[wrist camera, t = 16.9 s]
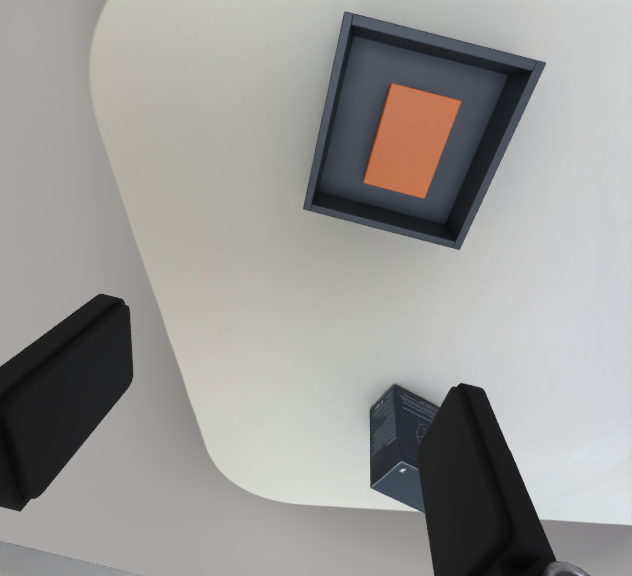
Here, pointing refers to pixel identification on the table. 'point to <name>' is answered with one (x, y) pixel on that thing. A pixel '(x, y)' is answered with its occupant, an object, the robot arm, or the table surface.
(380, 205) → the tray
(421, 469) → the robot arm
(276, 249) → the table surface
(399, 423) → the box
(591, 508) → the table surface
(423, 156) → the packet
